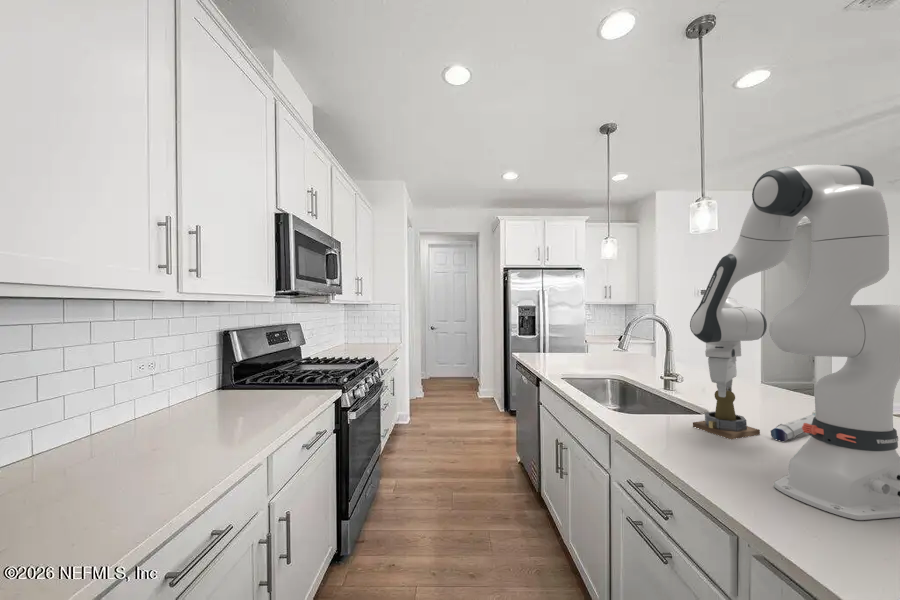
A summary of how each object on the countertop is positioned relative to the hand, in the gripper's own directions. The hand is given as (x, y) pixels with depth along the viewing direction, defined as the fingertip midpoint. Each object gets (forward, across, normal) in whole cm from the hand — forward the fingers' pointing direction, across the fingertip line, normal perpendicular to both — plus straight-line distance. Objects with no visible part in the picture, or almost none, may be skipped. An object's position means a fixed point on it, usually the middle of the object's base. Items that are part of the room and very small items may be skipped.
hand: (725, 394), depth 114 cm
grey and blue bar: (+12, -12, +17) cm, 24 cm away
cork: (+10, -1, 0) cm, 10 cm away
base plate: (+11, -1, -1) cm, 11 cm away
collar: (+10, 0, -1) cm, 10 cm away
